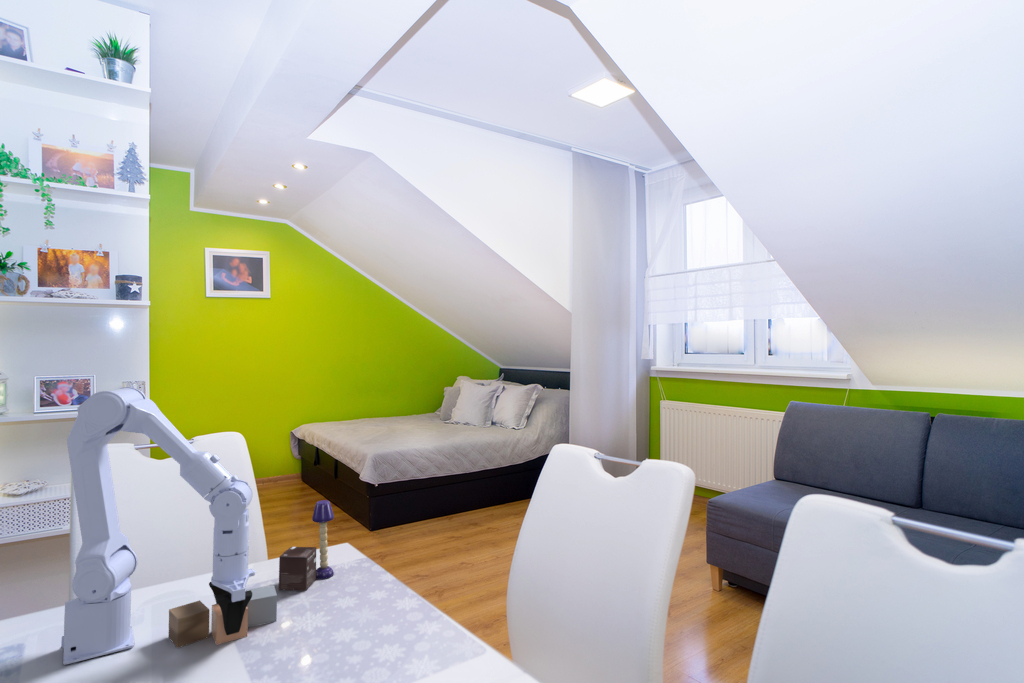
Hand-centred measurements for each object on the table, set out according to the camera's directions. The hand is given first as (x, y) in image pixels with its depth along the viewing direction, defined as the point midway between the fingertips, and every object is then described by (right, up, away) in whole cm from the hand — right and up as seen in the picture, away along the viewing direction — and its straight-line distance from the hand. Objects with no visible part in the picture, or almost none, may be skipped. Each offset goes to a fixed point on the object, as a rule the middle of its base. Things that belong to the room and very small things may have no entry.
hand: (229, 626), depth 101 cm
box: (+4, -2, +21) cm, 21 cm away
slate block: (+3, -2, +6) cm, 7 cm away
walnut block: (-7, -1, -1) cm, 7 cm away
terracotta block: (0, -2, 0) cm, 2 cm away
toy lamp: (+8, -2, +26) cm, 27 cm away
